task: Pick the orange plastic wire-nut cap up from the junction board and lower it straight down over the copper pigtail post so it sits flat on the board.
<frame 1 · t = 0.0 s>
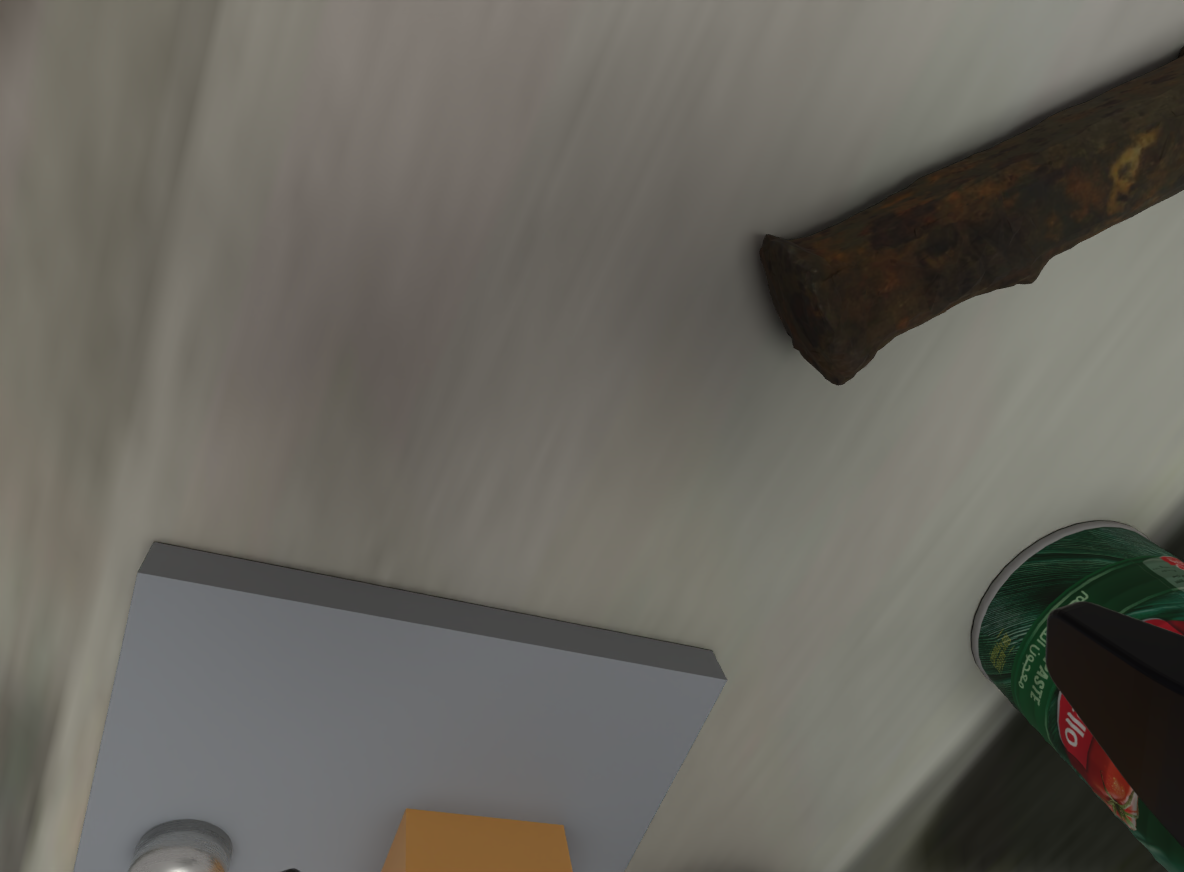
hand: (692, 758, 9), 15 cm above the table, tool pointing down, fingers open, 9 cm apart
junction board: (363, 868, 29), on the table
pigtail post: (184, 851, 25), resting on junction board
hand tool: (1045, 131, 23), on the table
canned tomato: (1059, 605, 31), on the table
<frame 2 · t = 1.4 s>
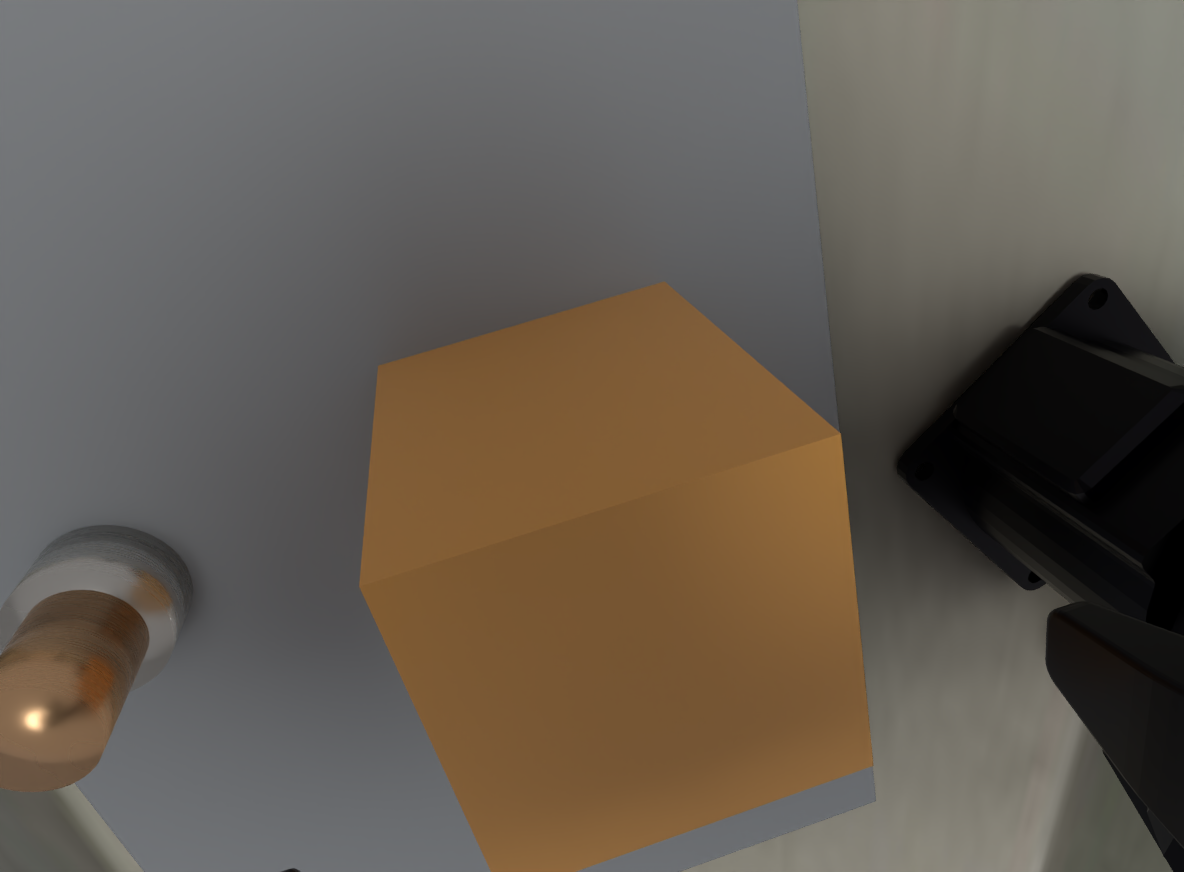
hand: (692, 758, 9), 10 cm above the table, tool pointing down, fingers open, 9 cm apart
junction board: (443, 534, 18), on the table
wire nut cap: (559, 450, 16), point 1 cm above the table, touching junction board
pigtail post: (114, 587, 16), resting on junction board
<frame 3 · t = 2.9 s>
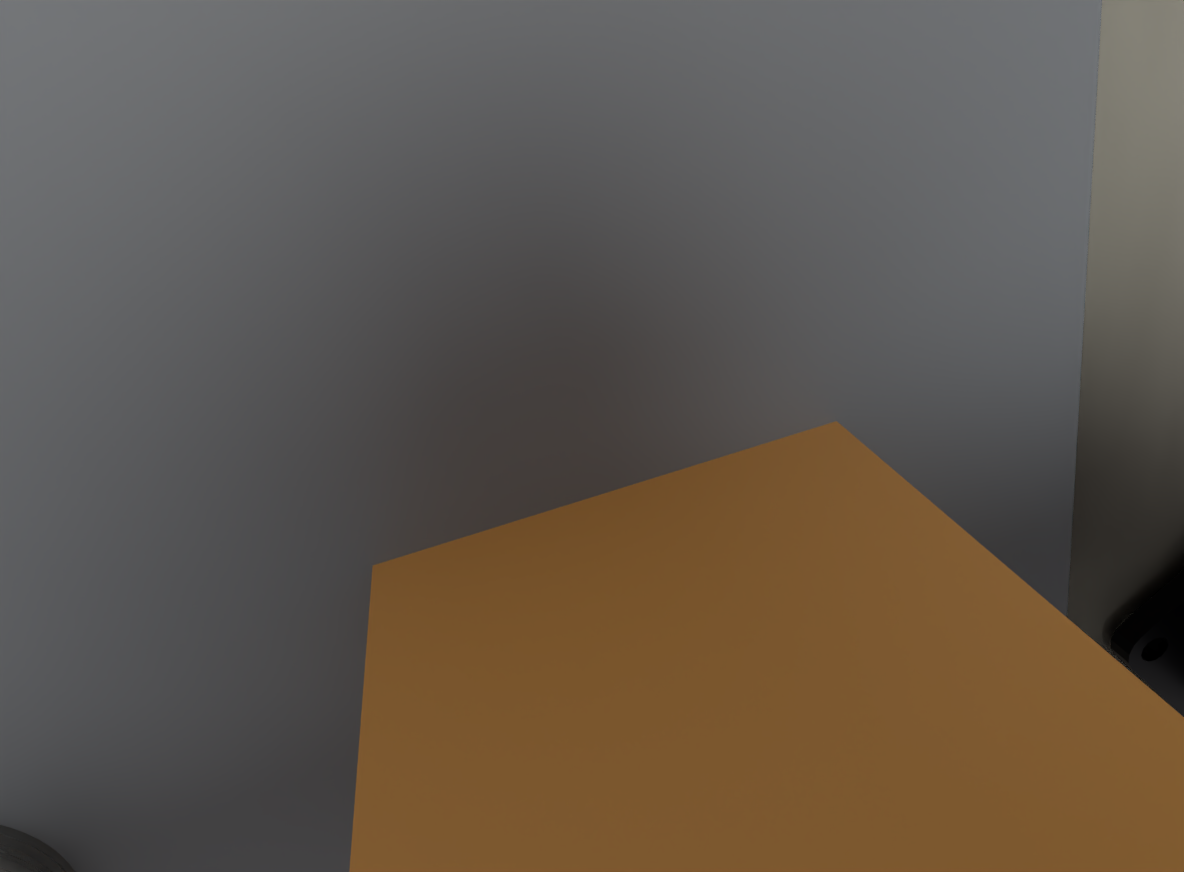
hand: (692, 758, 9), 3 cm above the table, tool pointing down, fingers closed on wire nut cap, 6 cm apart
junction board: (471, 758, 13), on the table
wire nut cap: (656, 669, 11), point 2 cm above the table, touching gripper, junction board
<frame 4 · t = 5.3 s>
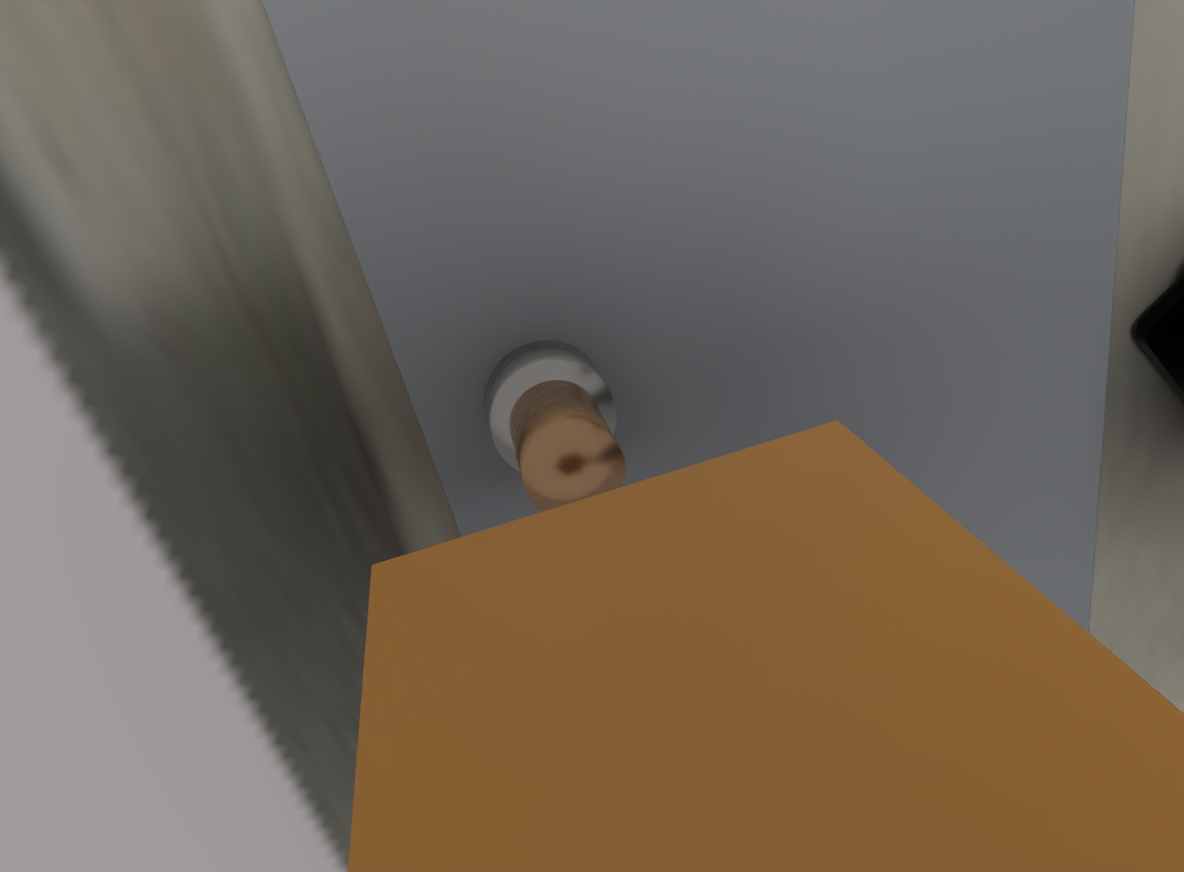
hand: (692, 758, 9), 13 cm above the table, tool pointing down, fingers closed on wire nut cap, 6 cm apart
junction board: (769, 377, 22), on the table
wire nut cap: (656, 669, 10), point 11 cm above the table, touching gripper
pigtail post: (544, 397, 19), resting on junction board
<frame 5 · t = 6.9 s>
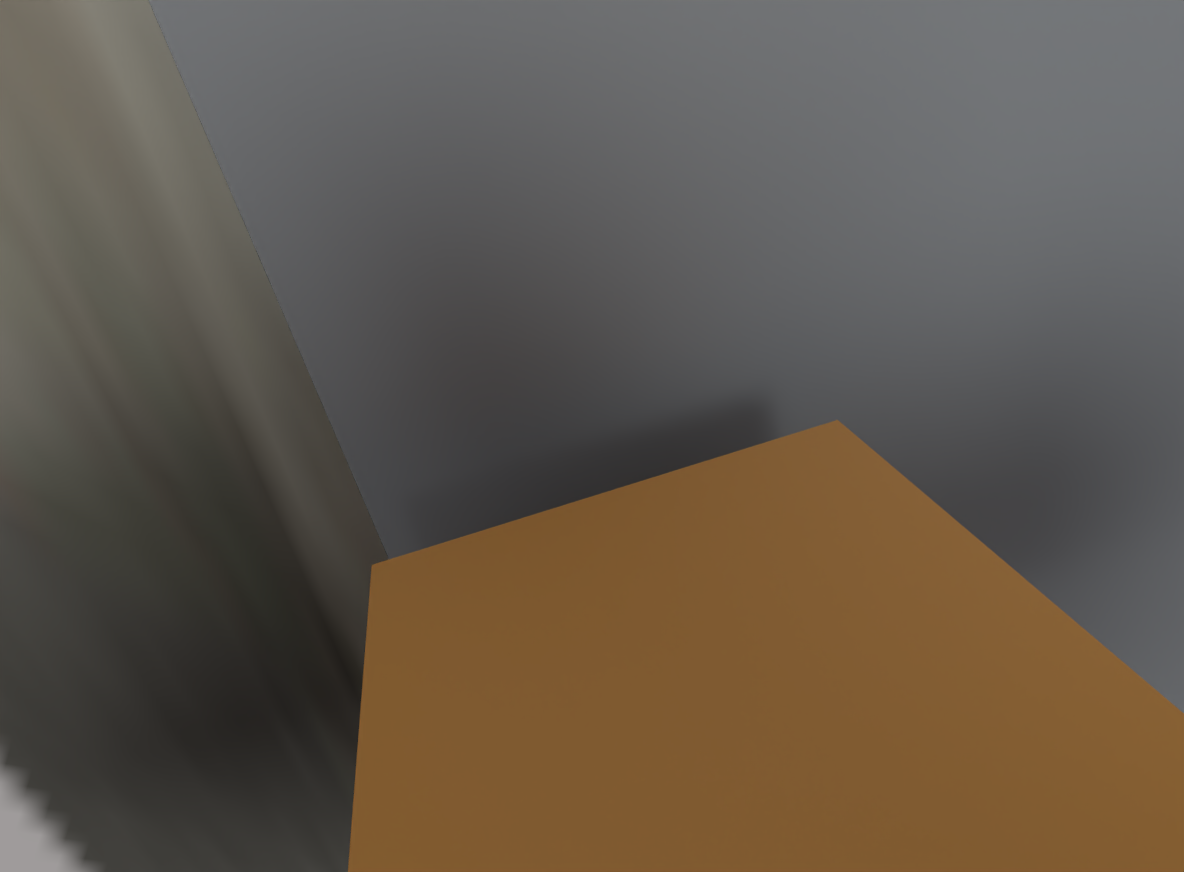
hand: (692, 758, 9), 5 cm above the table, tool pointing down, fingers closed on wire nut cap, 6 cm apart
junction board: (938, 528, 15), on the table
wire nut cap: (656, 669, 10), point 3 cm above the table, touching gripper
when the fingers open (4 cm above the table, at t = 8.0 s): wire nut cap drops 1 cm, resting on junction board.
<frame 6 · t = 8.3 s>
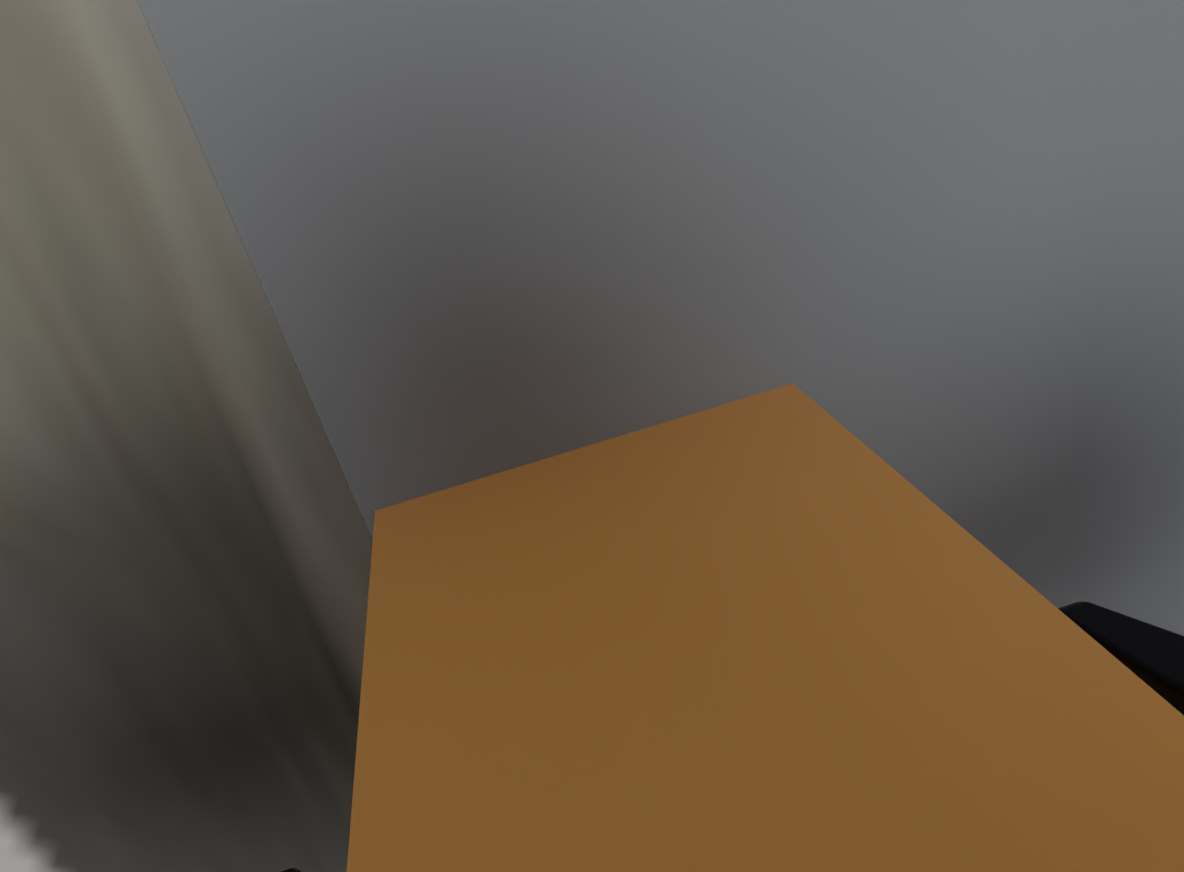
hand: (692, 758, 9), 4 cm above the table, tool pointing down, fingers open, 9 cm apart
junction board: (957, 543, 14), on the table
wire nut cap: (632, 612, 12), point 1 cm above the table, touching junction board
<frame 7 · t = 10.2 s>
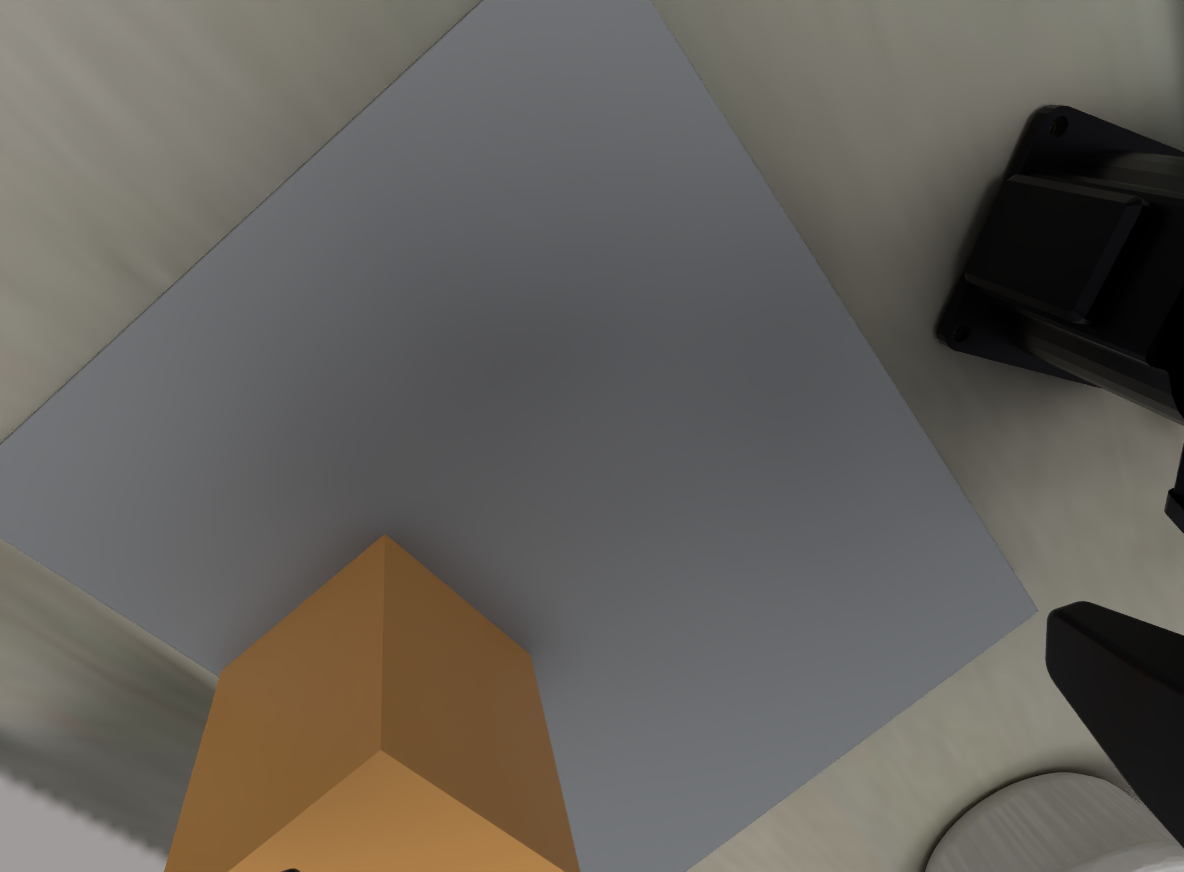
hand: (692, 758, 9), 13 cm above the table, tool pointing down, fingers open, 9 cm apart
junction board: (591, 537, 23), on the table
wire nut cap: (382, 662, 21), point 1 cm above the table, touching junction board
ramekin: (1012, 842, 35), on the table
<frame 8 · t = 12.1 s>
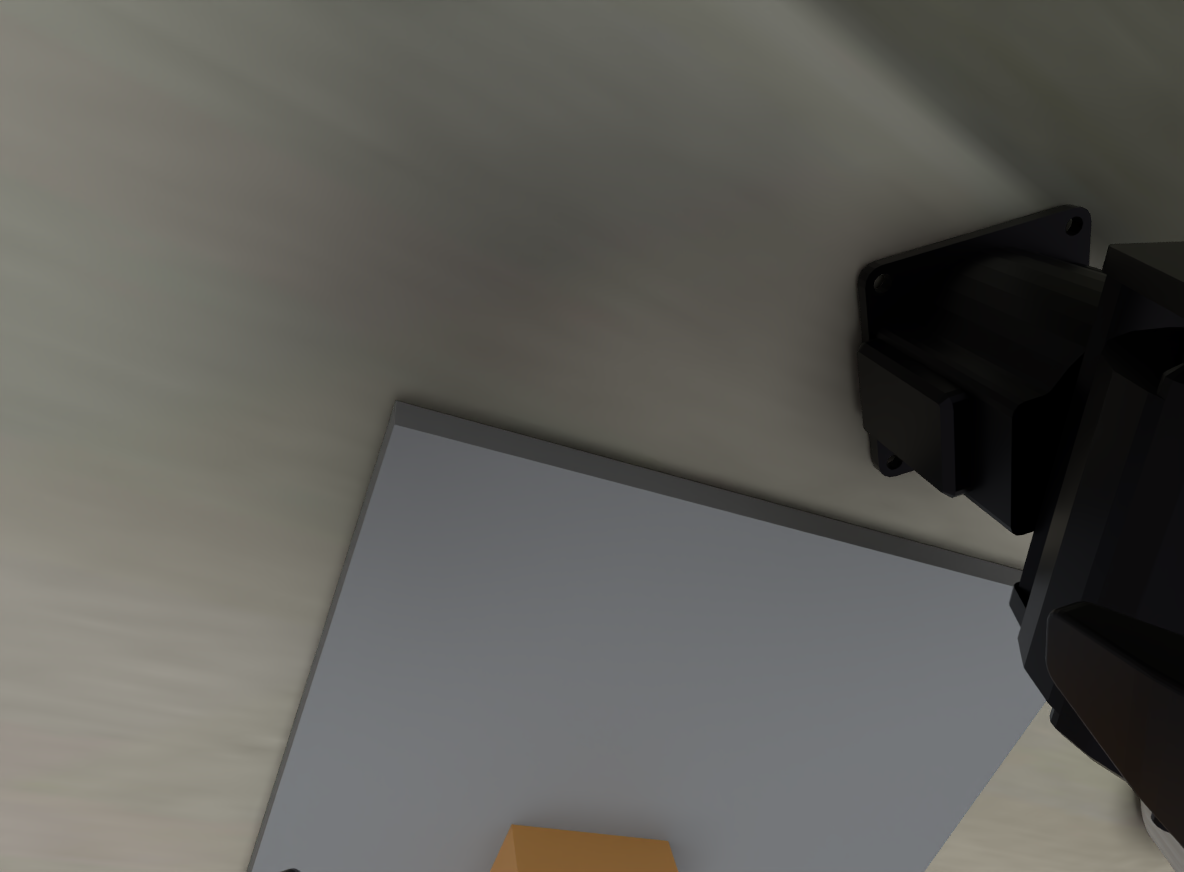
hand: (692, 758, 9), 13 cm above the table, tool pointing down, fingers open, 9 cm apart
junction board: (672, 732, 27), on the table
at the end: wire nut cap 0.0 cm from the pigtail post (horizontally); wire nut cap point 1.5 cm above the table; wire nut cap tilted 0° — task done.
